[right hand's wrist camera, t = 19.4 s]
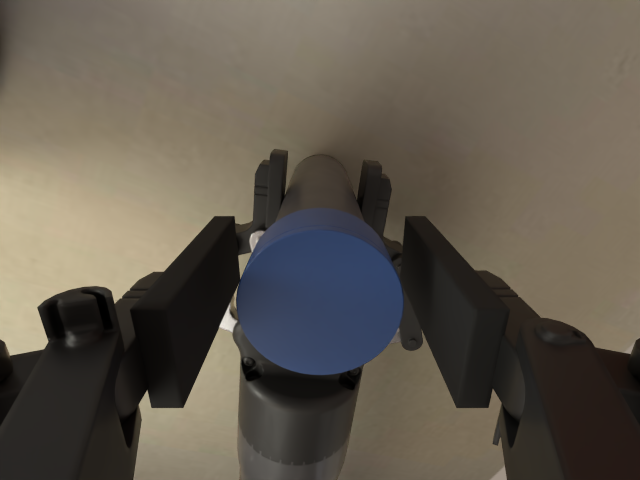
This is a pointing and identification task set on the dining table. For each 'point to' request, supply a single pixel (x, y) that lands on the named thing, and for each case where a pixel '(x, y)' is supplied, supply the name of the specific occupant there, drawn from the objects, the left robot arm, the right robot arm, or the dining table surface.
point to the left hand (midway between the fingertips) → (325, 158)
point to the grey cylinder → (319, 188)
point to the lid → (320, 293)
